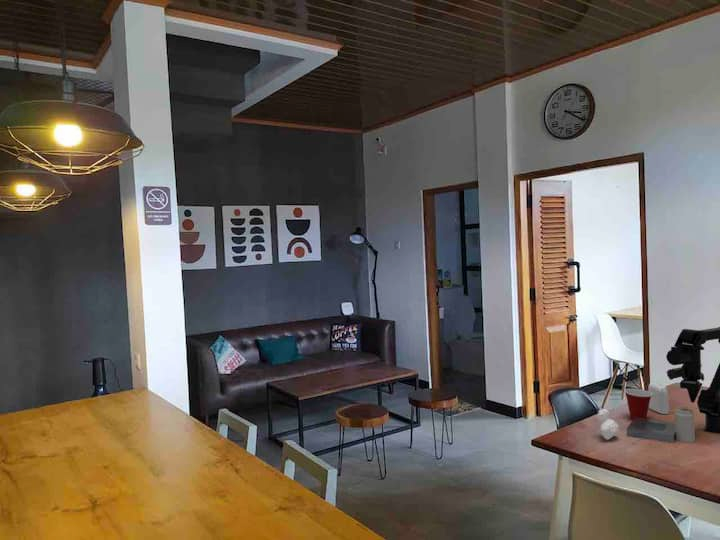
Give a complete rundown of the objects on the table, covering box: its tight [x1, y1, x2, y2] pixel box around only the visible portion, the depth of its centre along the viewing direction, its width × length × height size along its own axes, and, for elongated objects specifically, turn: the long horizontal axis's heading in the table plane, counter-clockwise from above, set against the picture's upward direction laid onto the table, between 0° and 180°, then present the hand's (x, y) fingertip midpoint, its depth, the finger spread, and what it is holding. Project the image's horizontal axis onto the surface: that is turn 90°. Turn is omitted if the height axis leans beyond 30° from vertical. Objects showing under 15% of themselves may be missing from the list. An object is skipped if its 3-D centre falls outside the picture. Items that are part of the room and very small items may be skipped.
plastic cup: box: [624, 388, 653, 421], centre depth 232 cm, size 11×11×12 cm
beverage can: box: [674, 407, 696, 444], centre depth 206 cm, size 6×6×12 cm
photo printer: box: [647, 382, 670, 415], centre depth 241 cm, size 10×4×12 cm, turn 4°
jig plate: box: [626, 417, 676, 444], centre depth 214 cm, size 16×16×3 cm
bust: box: [596, 408, 620, 440], centre depth 211 cm, size 12×8×11 cm, turn 145°
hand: (692, 402), depth 210 cm, fingers closed
